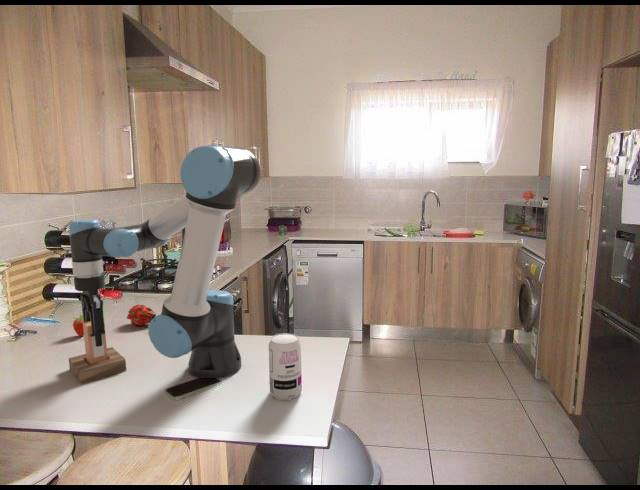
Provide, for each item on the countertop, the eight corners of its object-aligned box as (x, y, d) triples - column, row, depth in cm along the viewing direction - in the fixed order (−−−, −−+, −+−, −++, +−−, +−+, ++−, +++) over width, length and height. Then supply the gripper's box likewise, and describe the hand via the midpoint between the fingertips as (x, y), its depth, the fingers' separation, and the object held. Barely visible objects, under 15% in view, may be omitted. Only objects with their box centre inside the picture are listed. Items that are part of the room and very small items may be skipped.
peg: (107, 362, 126) (104, 322, 124) (91, 366, 123) (87, 326, 121) (103, 357, 130) (99, 318, 128) (86, 361, 127) (82, 322, 125)
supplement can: (285, 382, 119) (284, 330, 116) (308, 392, 113) (307, 337, 111) (263, 394, 112) (261, 339, 110) (286, 405, 107) (285, 347, 105)
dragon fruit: (131, 325, 168) (154, 334, 164) (116, 319, 161) (141, 328, 157) (141, 305, 171) (165, 313, 167) (128, 298, 164) (152, 306, 160)
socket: (126, 370, 127) (125, 359, 126) (80, 383, 119) (79, 371, 118) (113, 357, 135) (112, 347, 135) (69, 369, 127) (68, 358, 127)
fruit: (79, 333, 157) (77, 311, 155) (93, 333, 156) (91, 311, 155) (70, 338, 151) (68, 316, 150) (85, 338, 151) (83, 316, 150)
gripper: (113, 278, 118) (120, 359, 122) (94, 267, 131) (101, 341, 135) (82, 282, 113) (90, 367, 117) (66, 271, 126) (74, 348, 130)
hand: (96, 353), depth 126 cm, fingers closed on peg, 4 cm apart
